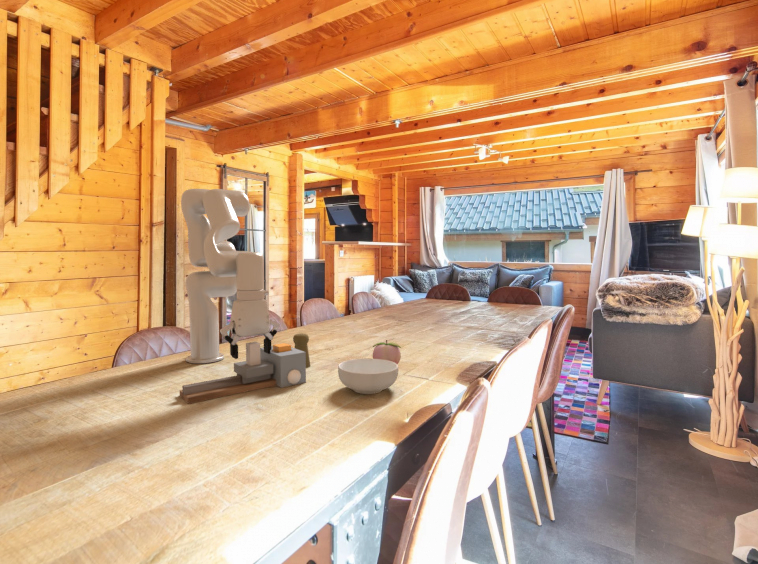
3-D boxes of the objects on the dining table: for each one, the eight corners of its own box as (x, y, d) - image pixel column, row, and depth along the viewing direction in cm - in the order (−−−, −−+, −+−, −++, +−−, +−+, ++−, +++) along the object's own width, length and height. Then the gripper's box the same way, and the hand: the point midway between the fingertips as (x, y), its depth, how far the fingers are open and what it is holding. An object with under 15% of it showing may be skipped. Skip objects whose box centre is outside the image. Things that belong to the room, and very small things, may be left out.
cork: (306, 369, 141) (306, 335, 140) (289, 368, 142) (288, 335, 141) (313, 364, 147) (312, 332, 146) (296, 363, 148) (295, 331, 147)
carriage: (234, 378, 124) (233, 342, 123) (260, 373, 129) (259, 338, 129) (246, 385, 117) (245, 347, 117) (273, 380, 122) (272, 343, 122)
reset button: (273, 358, 129) (272, 344, 129) (285, 355, 131) (284, 343, 131) (279, 360, 126) (278, 347, 126) (291, 358, 128) (291, 345, 128)
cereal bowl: (392, 402, 110) (392, 374, 109) (330, 397, 113) (330, 371, 112) (402, 382, 126) (402, 358, 126) (347, 379, 129) (347, 356, 129)
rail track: (179, 395, 114) (179, 382, 114) (264, 379, 130) (264, 367, 129) (188, 403, 108) (188, 390, 108) (276, 385, 123) (276, 373, 123)
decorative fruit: (401, 367, 143) (401, 337, 142) (400, 373, 135) (400, 342, 134) (373, 366, 144) (373, 336, 143) (370, 373, 136) (370, 341, 135)
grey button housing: (260, 376, 132) (259, 347, 131) (283, 372, 137) (283, 344, 136) (282, 388, 121) (281, 356, 120) (306, 382, 126) (306, 352, 125)
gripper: (273, 292, 130) (273, 348, 131) (215, 296, 119) (216, 357, 120) (284, 295, 124) (285, 353, 125) (224, 299, 113) (225, 362, 115)
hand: (251, 355), depth 123 cm, fingers open, 9 cm apart
